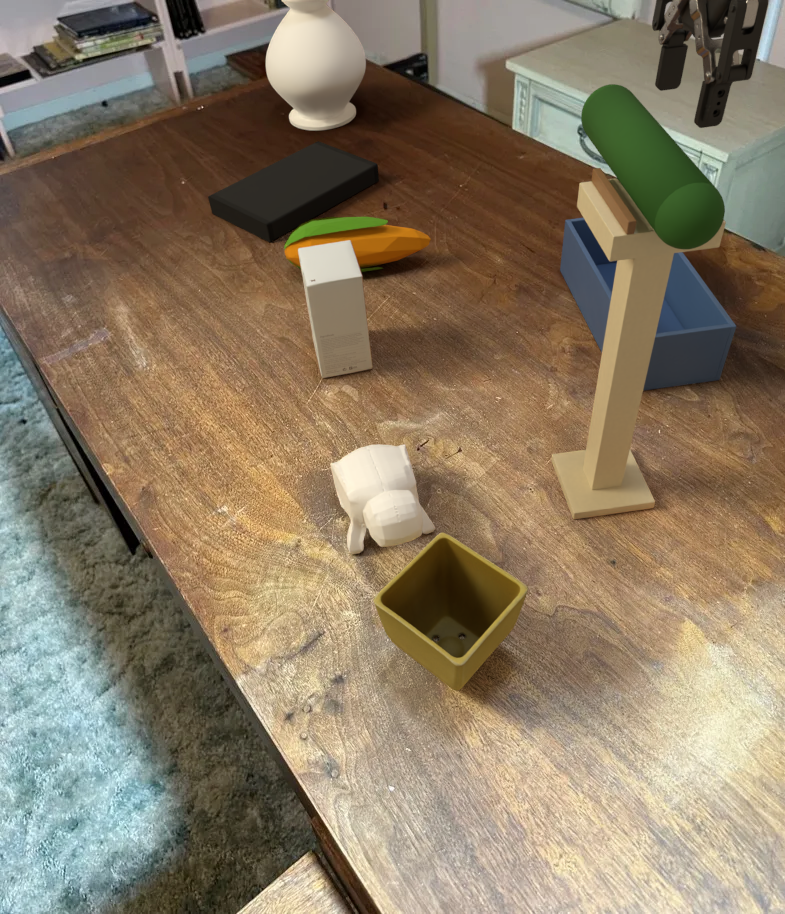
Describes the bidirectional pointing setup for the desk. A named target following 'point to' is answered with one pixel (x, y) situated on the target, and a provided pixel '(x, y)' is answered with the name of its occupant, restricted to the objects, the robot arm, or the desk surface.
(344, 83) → the decorative vase
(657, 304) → the wooden cradle stand
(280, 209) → the external hard drive
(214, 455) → the desk surface
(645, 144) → the green cylinder
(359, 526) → the white animal figurine
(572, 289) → the open box
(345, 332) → the small box
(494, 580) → the flower pot
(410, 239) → the corn
